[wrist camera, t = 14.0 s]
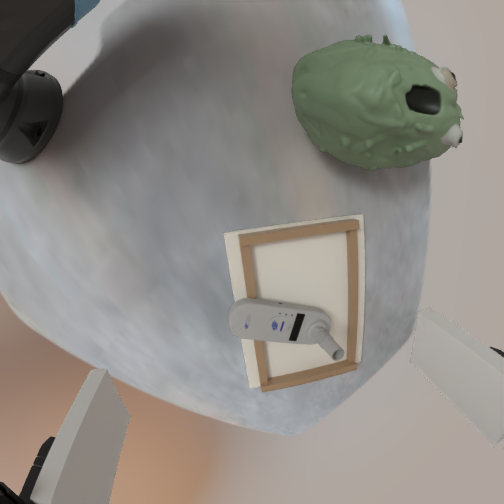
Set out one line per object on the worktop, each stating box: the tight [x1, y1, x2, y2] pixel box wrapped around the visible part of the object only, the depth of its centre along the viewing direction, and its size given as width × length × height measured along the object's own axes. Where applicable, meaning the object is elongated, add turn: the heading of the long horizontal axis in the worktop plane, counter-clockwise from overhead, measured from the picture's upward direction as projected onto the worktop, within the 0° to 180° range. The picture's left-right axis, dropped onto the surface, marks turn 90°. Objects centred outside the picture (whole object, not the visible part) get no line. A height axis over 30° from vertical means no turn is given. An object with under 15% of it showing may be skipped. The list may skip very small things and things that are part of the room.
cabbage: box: [292, 35, 464, 170], centre depth 26 cm, size 16×19×20 cm
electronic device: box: [228, 298, 344, 361], centre depth 35 cm, size 5×10×15 cm
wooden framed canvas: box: [224, 214, 365, 392], centre depth 40 cm, size 26×20×3 cm
